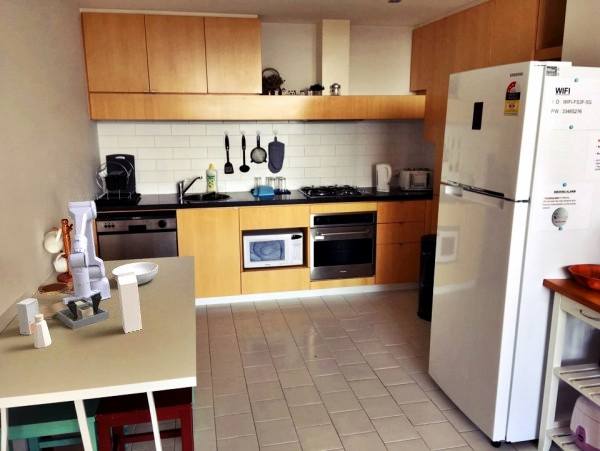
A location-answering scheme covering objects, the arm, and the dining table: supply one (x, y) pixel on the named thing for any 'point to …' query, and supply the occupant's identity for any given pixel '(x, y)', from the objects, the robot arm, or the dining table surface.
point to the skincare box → (27, 315)
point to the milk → (129, 301)
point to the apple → (70, 286)
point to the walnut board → (51, 310)
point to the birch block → (85, 312)
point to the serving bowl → (138, 271)
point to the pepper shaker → (41, 332)
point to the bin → (102, 315)
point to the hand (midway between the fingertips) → (85, 316)
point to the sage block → (79, 305)
